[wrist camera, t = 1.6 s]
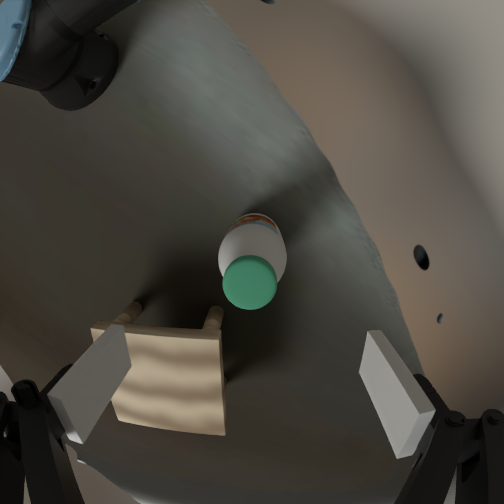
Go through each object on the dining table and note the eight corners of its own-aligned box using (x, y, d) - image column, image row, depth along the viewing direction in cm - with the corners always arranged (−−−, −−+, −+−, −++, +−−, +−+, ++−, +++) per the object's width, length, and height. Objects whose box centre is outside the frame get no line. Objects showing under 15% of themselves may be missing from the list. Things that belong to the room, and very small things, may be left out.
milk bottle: (291, 230, 43) (314, 272, 24) (262, 273, 45) (263, 342, 26) (246, 202, 43) (234, 221, 23) (218, 246, 44) (187, 298, 25)
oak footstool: (124, 296, 47) (90, 328, 35) (228, 301, 46) (218, 339, 35) (140, 380, 51) (118, 420, 39) (231, 388, 51) (225, 435, 39)
